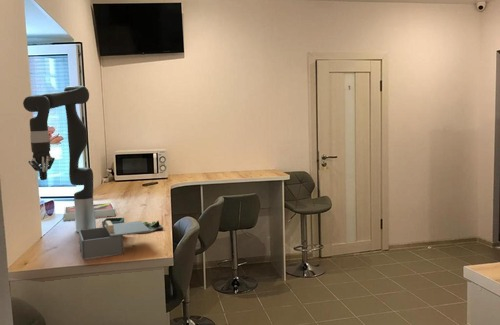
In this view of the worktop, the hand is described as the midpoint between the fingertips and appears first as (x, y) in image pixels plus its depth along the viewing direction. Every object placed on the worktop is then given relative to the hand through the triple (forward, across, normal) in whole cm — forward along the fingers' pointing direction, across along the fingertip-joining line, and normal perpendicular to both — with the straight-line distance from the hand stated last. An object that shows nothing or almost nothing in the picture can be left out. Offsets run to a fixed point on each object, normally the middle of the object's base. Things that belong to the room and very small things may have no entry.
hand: (43, 179), depth 184 cm
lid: (+23, +10, -35) cm, 43 cm away
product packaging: (+34, +61, +29) cm, 76 cm away
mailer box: (+31, +1, -27) cm, 41 cm away
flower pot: (+32, +21, -19) cm, 43 cm away
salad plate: (+33, +39, -25) cm, 57 cm away
